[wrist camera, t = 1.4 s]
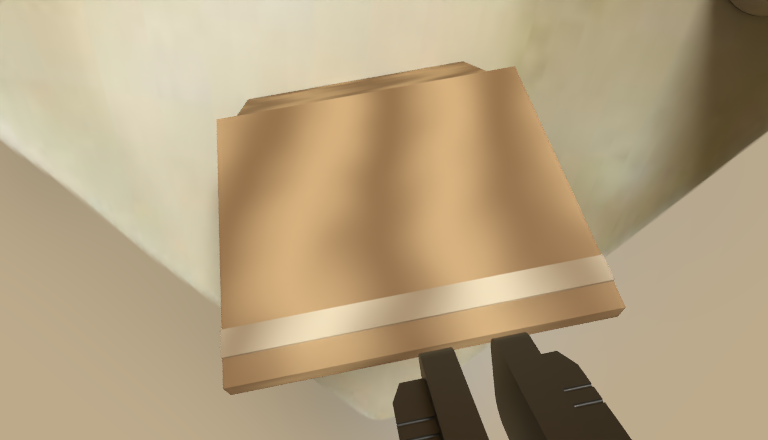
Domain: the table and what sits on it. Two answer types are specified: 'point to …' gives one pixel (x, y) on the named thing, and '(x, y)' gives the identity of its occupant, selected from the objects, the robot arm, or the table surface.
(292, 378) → the lid
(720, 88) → the table surface
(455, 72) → the brown wooden box
